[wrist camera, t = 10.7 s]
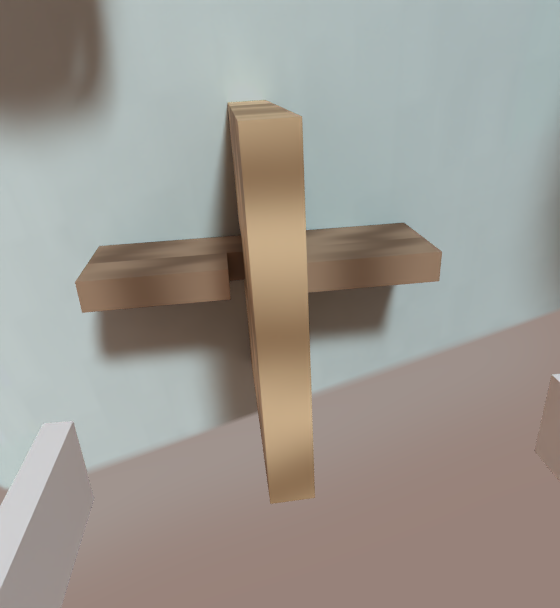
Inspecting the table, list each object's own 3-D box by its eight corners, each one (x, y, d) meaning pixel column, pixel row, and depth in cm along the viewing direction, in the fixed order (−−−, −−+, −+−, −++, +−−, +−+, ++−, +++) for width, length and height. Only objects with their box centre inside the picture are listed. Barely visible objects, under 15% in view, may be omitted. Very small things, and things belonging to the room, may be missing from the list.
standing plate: (404, 222, 30) (442, 251, 25) (402, 247, 31) (438, 281, 26) (99, 246, 28) (75, 282, 23) (104, 272, 29) (82, 312, 24)
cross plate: (281, 359, 33) (314, 497, 22) (251, 362, 33) (270, 503, 22) (265, 99, 26) (302, 116, 15) (227, 102, 26) (237, 121, 15)
